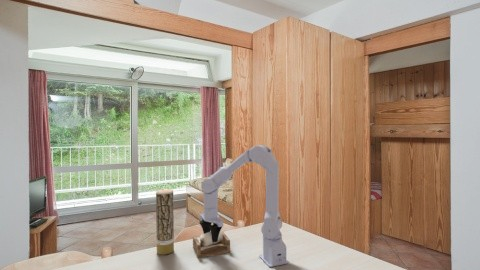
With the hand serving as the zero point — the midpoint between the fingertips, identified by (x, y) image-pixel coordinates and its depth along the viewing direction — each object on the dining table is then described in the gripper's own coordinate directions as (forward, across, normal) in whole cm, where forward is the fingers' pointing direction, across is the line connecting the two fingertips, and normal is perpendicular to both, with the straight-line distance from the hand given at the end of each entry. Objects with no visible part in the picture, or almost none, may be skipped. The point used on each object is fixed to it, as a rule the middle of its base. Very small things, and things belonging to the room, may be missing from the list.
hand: (211, 239), depth 108 cm
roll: (+2, 0, 0) cm, 2 cm away
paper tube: (+5, +11, +15) cm, 19 cm away
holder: (+4, 0, 0) cm, 4 cm away
